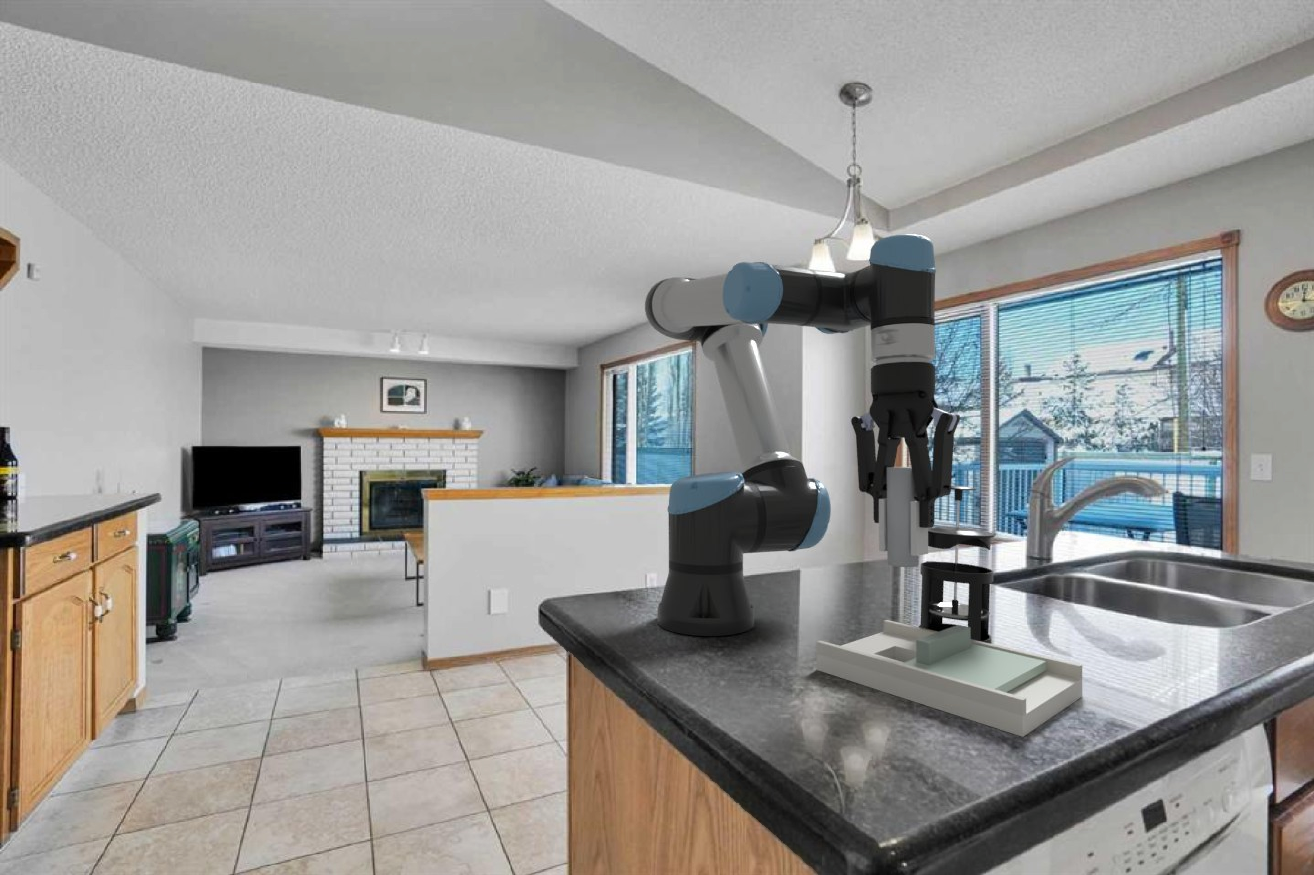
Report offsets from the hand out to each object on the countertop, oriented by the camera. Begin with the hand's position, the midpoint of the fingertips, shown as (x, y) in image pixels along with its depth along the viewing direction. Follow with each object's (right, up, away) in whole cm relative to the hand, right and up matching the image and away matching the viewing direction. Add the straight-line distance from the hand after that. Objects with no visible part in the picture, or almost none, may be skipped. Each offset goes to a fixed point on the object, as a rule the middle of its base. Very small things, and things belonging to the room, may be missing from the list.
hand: (903, 551), depth 81 cm
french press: (+9, -16, +8) cm, 20 cm away
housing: (+3, -15, -4) cm, 16 cm away
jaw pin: (0, -2, 0) cm, 2 cm away
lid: (+6, -12, -7) cm, 15 cm away
